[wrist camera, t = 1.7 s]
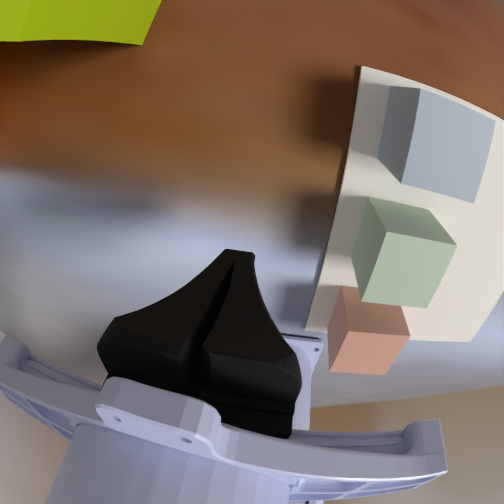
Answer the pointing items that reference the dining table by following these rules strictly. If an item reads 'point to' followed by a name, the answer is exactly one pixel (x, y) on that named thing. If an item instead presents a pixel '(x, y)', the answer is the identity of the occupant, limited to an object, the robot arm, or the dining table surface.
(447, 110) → the slate block
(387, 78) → the mat
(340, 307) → the terracotta block
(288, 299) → the dining table surface
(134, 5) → the puzzle toy
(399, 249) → the sage block
